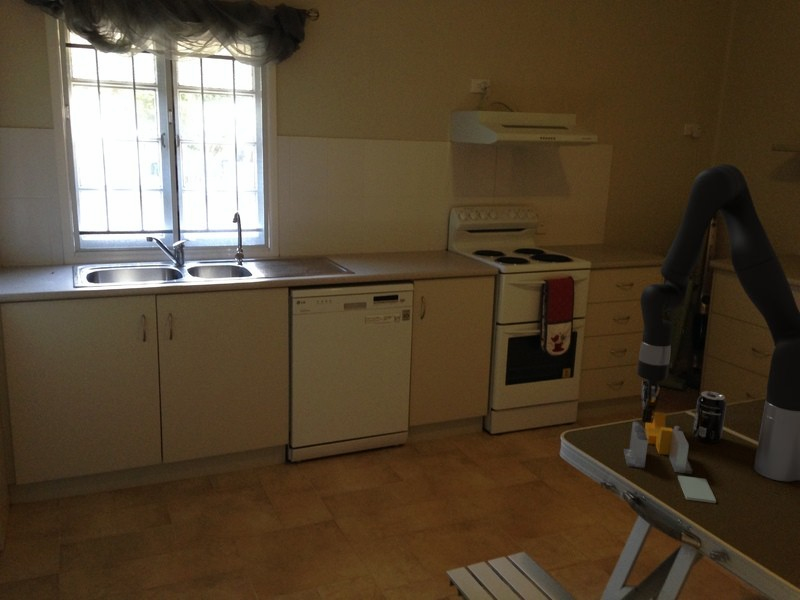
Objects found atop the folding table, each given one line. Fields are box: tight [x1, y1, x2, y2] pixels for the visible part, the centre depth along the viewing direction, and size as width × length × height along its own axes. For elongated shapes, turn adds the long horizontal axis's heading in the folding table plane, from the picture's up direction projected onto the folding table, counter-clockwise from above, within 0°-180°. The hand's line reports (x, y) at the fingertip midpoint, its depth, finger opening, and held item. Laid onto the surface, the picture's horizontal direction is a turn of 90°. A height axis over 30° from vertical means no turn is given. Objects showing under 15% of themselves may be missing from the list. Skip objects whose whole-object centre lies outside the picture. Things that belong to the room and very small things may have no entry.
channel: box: [623, 420, 693, 475], centre depth 171 cm, size 14×11×7 cm
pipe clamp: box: [644, 411, 673, 456], centre depth 180 cm, size 12×4×6 cm, turn 169°
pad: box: [677, 475, 717, 504], centre depth 158 cm, size 6×10×1 cm, turn 169°
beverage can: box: [692, 390, 727, 444], centre depth 184 cm, size 7×7×12 cm
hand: (646, 421), depth 190 cm, fingers closed
